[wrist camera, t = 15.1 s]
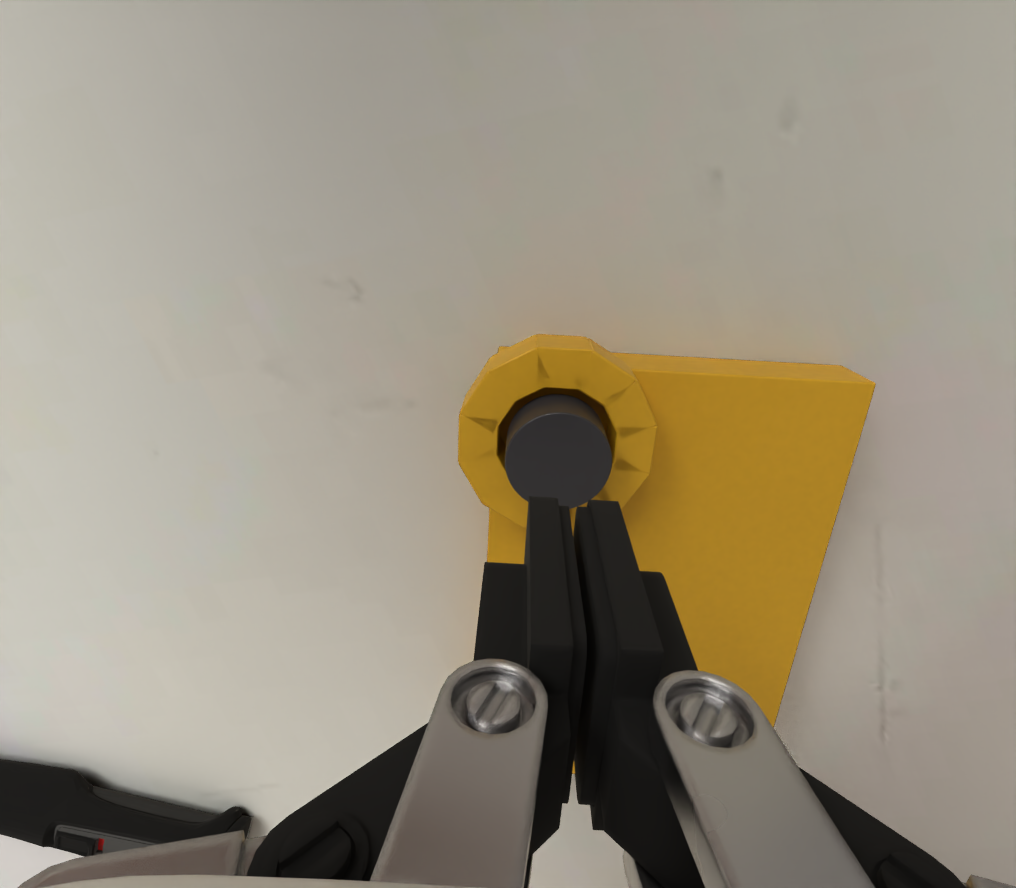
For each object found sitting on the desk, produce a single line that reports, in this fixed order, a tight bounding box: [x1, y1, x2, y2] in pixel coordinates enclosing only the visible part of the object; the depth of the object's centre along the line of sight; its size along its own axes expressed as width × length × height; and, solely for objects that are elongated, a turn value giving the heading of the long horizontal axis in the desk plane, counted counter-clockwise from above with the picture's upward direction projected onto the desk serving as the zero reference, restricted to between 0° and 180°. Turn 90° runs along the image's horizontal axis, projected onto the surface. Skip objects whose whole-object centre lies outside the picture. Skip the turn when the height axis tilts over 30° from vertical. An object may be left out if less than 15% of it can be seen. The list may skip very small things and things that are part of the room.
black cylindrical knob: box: [505, 394, 612, 509], centre depth 17 cm, size 3×3×2 cm
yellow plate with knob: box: [458, 334, 876, 774], centre depth 22 cm, size 19×13×4 cm
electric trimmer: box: [0, 759, 253, 857], centre depth 28 cm, size 4×16×3 cm, turn 70°
